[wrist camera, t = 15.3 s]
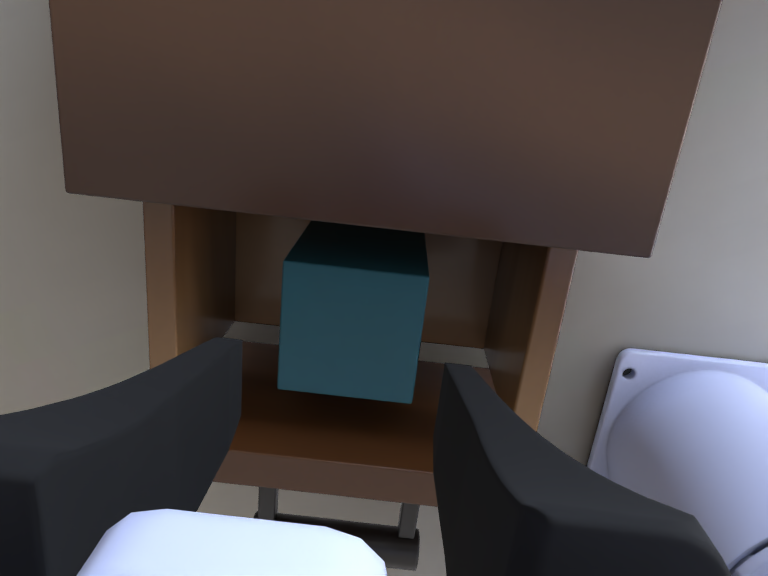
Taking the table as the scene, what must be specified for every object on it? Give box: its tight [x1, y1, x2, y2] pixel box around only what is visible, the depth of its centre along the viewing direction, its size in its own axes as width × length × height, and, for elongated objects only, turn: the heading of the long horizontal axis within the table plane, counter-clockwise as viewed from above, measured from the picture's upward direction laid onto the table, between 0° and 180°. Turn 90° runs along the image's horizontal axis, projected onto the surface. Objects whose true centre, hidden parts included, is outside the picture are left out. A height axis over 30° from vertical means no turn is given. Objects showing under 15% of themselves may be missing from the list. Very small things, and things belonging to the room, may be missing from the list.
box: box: [277, 220, 430, 404], centre depth 18 cm, size 4×4×5 cm
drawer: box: [143, 202, 579, 571], centre depth 19 cm, size 18×12×7 cm
